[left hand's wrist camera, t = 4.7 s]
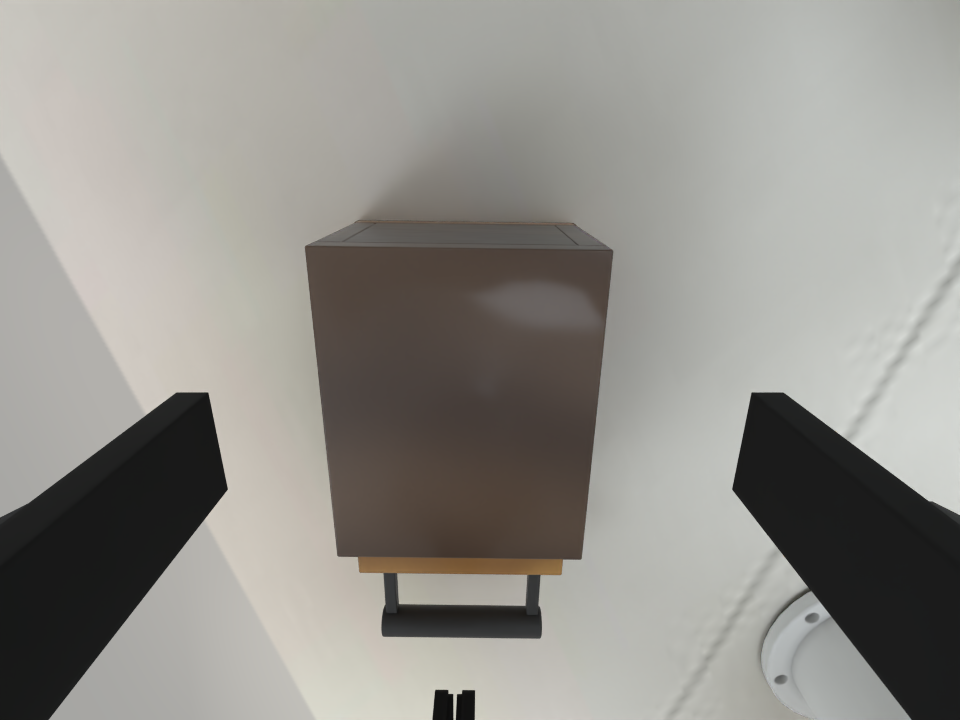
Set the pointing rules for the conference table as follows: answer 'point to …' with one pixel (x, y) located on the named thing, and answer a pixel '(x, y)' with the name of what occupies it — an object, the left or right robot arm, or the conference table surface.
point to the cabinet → (459, 385)
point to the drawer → (461, 617)
